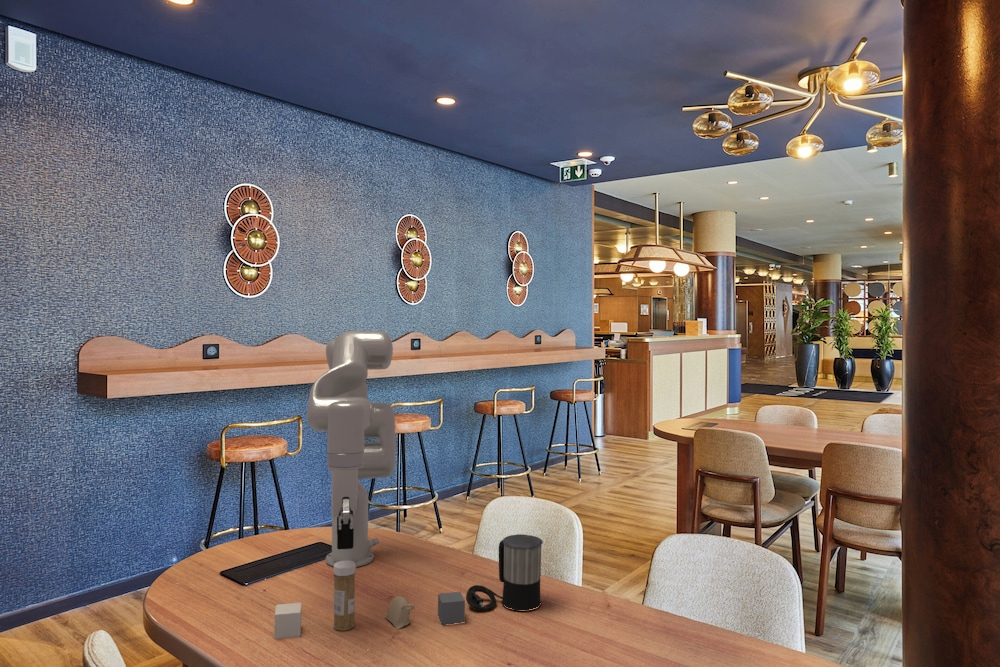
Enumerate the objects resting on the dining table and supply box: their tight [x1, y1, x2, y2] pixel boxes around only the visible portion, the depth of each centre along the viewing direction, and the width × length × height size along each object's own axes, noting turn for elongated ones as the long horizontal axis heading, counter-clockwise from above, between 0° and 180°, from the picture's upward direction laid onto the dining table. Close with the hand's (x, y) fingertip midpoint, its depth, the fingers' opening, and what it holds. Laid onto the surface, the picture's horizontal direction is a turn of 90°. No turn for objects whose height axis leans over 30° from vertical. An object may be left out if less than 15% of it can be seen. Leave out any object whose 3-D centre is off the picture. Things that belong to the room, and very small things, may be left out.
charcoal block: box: [437, 591, 466, 626], centre depth 145 cm, size 5×5×5 cm
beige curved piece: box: [385, 595, 415, 630], centre depth 143 cm, size 4×8×5 cm, turn 30°
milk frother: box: [465, 533, 543, 612], centre depth 153 cm, size 14×16×15 cm
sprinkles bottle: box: [333, 561, 357, 632], centre depth 141 cm, size 5×5×14 cm
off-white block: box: [273, 602, 302, 640], centre depth 138 cm, size 5×5×5 cm
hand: (344, 541), depth 140 cm, fingers open, 9 cm apart
